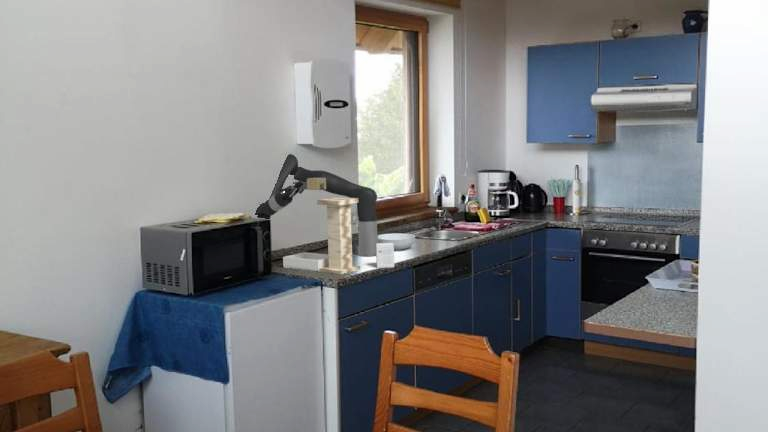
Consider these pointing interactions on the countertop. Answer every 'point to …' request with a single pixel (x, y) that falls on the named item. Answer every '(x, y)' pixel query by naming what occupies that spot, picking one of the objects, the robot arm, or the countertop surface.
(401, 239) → the serving bowl
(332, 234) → the birch pedestal
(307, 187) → the strut
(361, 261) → the countertop surface
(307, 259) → the grey tray
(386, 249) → the small box
